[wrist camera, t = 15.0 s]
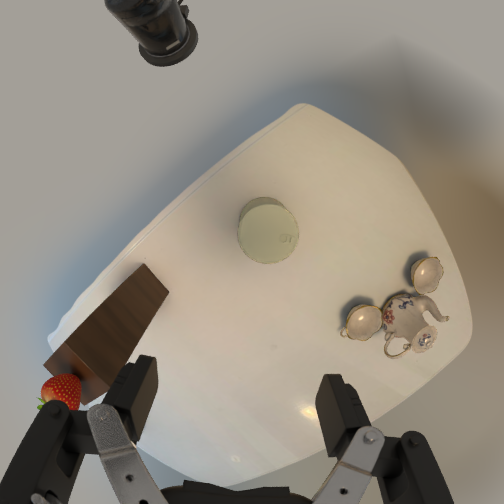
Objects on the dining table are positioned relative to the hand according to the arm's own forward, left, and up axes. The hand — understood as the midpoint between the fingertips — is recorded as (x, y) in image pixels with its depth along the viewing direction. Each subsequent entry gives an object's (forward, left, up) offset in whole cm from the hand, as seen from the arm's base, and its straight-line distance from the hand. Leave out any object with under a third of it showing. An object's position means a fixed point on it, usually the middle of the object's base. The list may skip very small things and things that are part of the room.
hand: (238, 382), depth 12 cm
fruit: (+16, -20, -12) cm, 28 cm away
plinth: (+16, -20, -42) cm, 49 cm away
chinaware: (+13, +35, -42) cm, 57 cm away
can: (-1, +3, -42) cm, 42 cm away
